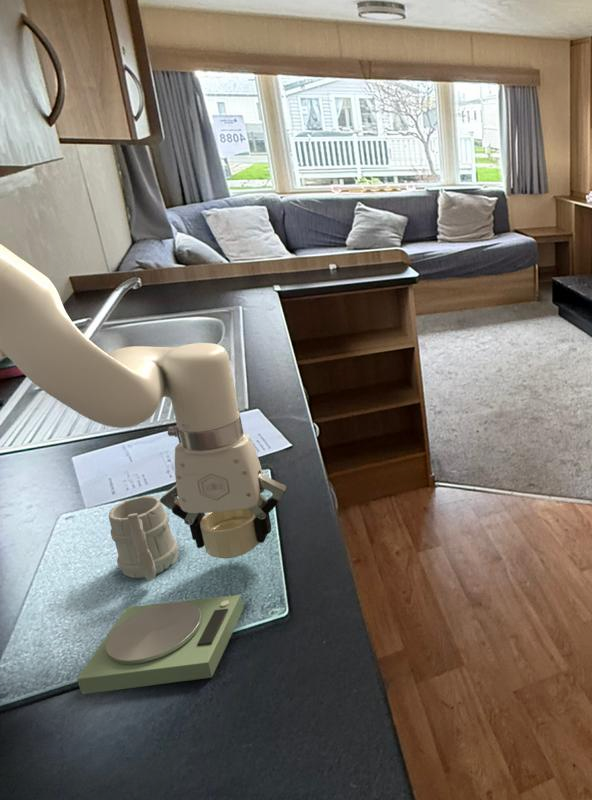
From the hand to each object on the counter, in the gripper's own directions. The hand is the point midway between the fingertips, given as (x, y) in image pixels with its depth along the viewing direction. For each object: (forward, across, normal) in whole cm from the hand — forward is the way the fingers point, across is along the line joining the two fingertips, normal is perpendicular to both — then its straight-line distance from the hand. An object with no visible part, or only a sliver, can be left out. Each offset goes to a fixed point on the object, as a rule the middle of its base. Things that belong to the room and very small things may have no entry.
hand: (234, 539), depth 96 cm
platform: (+2, -5, -16) cm, 17 cm away
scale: (+5, -3, -16) cm, 17 cm away
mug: (+5, -12, +1) cm, 13 cm away
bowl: (+1, 0, 0) cm, 1 cm away
